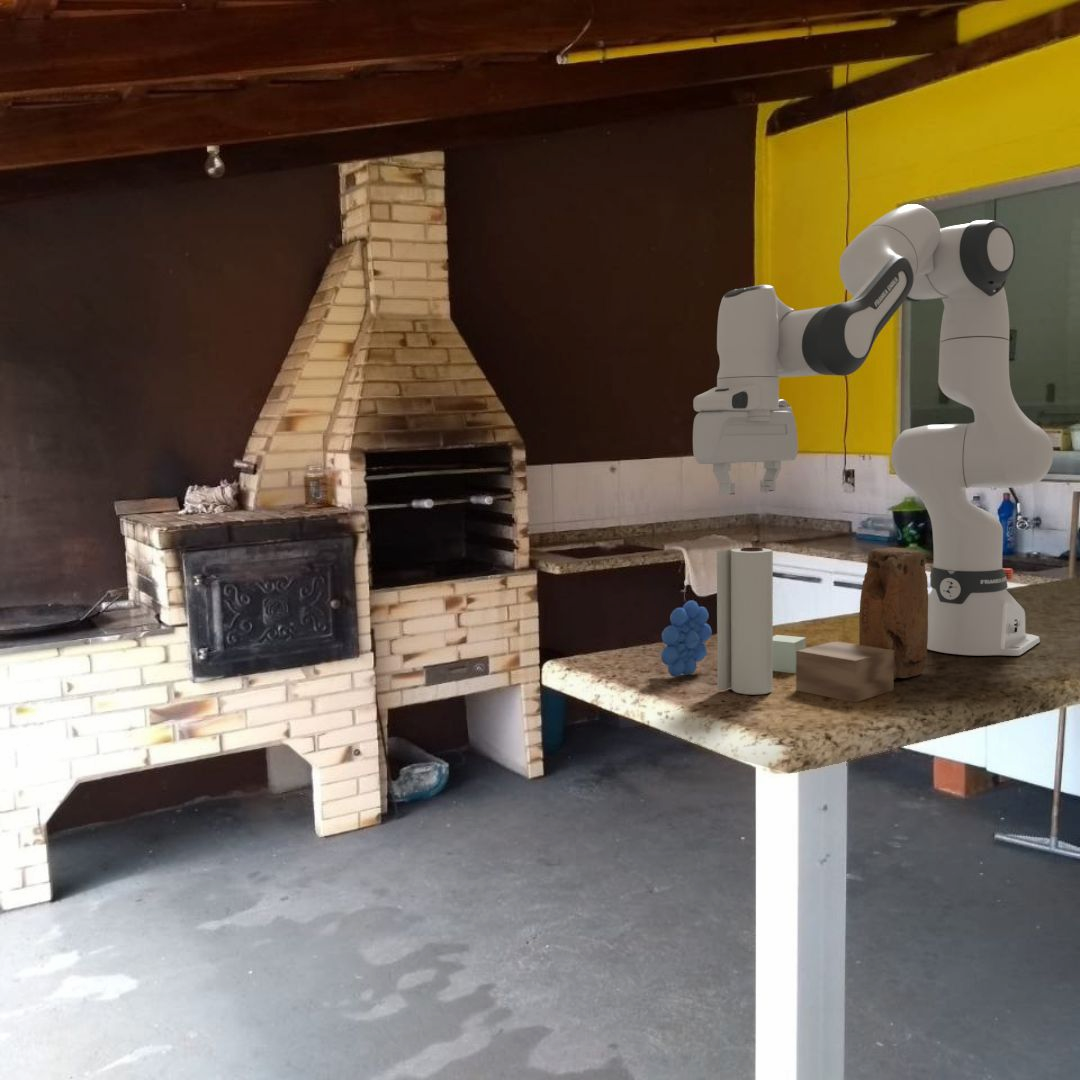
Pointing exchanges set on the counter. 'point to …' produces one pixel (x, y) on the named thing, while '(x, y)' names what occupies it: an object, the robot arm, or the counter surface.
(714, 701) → the counter surface
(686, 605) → the grapes
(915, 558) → the block
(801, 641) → the green cube
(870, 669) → the walnut block
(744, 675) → the paper towel roll
